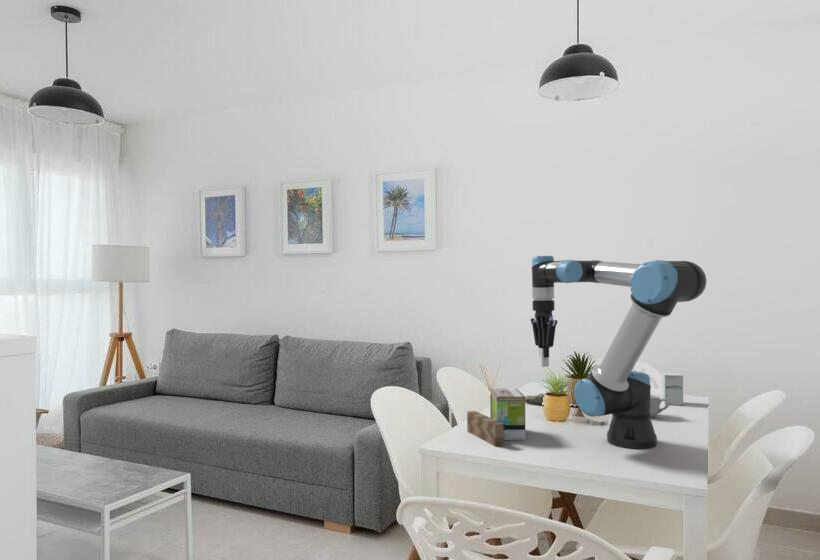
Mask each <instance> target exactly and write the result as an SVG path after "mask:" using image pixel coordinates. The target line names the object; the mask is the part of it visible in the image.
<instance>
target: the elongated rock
mask: <svg viewBox="0 0 820 560" xmlns="http://www.w3.org/2000/svg"><path fill="white" fill-rule="evenodd" d="M545 394H546V393H545ZM545 394H544V393H539V394H537V395H524V396H525V403H527V404H531V405H536V406H543V405H542V402H543V397H544V395H545Z"/></svg>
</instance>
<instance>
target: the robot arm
mask: <svg viewBox="0 0 820 560" xmlns="http://www.w3.org/2000/svg"><path fill="white" fill-rule="evenodd" d="M531 280H532V281H531V283H532V284H531V286H532V287H531V290H532V291H531V295H532V297H531V298H532V299H533V300H532V311H533V312H535V313H534V317H533V318H530V323H531V327H532V331H533V338H534V344H535V346H537V347H538V350H539V351H538V353H539V354H538V355H539V367H541V368H546V367H547V368H548V367H550V348H553V347H554V344H555V343H554V341H555V335H556V327H557V325H558V320H556V319H554V318H553V317H554V316H553V311H555V300H554V298H555V283H557V284H558V283H562V284H563V283H565V284H572V283H594V284H603V285H604V284H605V285H613V286H620V287H621V286H622V287H630V288H629V289H630V292H631V294H630V297H629V298H630V300H631V302H632V304H631V306H630V308H629V310H628V312H627V314H626V315H625V317H624V320H623V322H622V323H621V325H620V327H619V329H618V331H617V333H616V335H615V336H614V338H613V340H612V341H611V344H610V346H609V348H608V350H607V352H606V353H605V356H604V357H603V359H602V361H601V363H600V364H598V365H595V366H593V367H592V369H591V370H590V373H589V375H588V376H587V378H582V379H580V380H578V381H577V383H576V384H575V386H574V390H573V391H574V392H573V393H574V398H575V399H576V403H577V405H578V407H577V408H579V410H580V411H581V412H582V413H583V414H585V415H586V416H589V417H603V416H607V415H612V417H611V420H610V423H609V428H608V430H607V432H606V441H607V442H608V443H610V444H611V445H614V446H618V447H621V448H626V449H627V448H628V449H649V448H650V449H651V448H654V447H656V446H657V445H658V436H657V434H656V433H655V427H654V425H653V423H652V419H651V418H652V417H651V404H650V395H651V386H652V384H651V377H650V376H649V374H647V373H645V372H640V371H634V368H635V366H636V365H637V362H638V361H639V359H640V357H641V355H642V354H643V352H644V350H645V348H646V346H647V345H648V343H649V341H650V339H651V338H652V336H653V334H654V332H655V330H656V329H657V327H658V325H659V324H660V322H661V320H662V318H666V317H669V316H670V315H671V314H672V312H673V311H674V309H675V307H676V305H677V304H678V303H684V302H690V301H693V300H696V299H697V298H699V297H700V296H701V295H702V294H703V292H704V291H705V290H706V287H707V277H706V273H705V271H704V270H703V269H702V267H700V265H698V264H697V263H694V262H693V261H687V260H661V259H659V260H657V259H656V260H652V261H651V260H650V261H647V262H643V263H629V262H618V261H617V262H616V261H615V262H614V261H602V260H598V259H597V260H596V259H595V260H594V259H593V260H574V259H565V260H564V259H563V260H554V256H552V255H535V256H533V257H532V260H531Z"/></svg>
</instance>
